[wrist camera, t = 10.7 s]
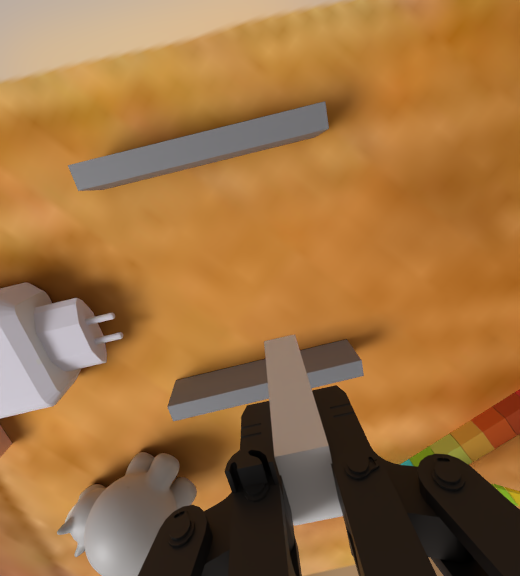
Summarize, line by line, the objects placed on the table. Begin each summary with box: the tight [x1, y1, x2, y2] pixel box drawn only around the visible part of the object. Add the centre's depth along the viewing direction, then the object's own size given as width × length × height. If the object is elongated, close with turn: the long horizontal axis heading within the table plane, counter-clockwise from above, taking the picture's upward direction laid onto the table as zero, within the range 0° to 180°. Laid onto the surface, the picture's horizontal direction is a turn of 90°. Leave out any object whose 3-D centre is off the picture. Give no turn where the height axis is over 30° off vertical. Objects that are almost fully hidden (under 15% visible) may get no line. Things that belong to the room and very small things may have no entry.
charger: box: [0, 282, 123, 418], centre depth 24 cm, size 5×9×15 cm
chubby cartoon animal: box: [57, 452, 197, 576], centre depth 28 cm, size 7×12×8 cm, turn 108°
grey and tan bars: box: [0, 102, 364, 457], centre depth 23 cm, size 34×22×4 cm, turn 103°
